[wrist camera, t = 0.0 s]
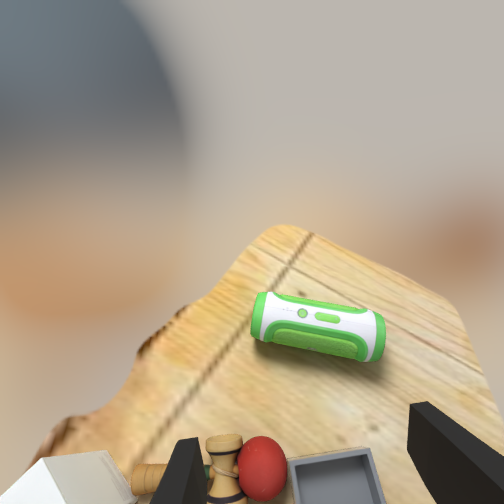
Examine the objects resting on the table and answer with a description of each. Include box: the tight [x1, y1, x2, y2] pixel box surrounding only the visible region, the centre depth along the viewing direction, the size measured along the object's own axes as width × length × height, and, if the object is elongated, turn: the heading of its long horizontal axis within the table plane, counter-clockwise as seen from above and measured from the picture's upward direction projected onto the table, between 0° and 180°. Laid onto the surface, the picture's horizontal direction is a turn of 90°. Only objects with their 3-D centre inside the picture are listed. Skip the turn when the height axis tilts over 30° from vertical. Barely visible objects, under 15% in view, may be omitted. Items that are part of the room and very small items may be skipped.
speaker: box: [251, 292, 386, 362], centre depth 41 cm, size 18×7×8 cm, turn 78°
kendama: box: [131, 434, 287, 504], centre depth 33 cm, size 8×6×18 cm
